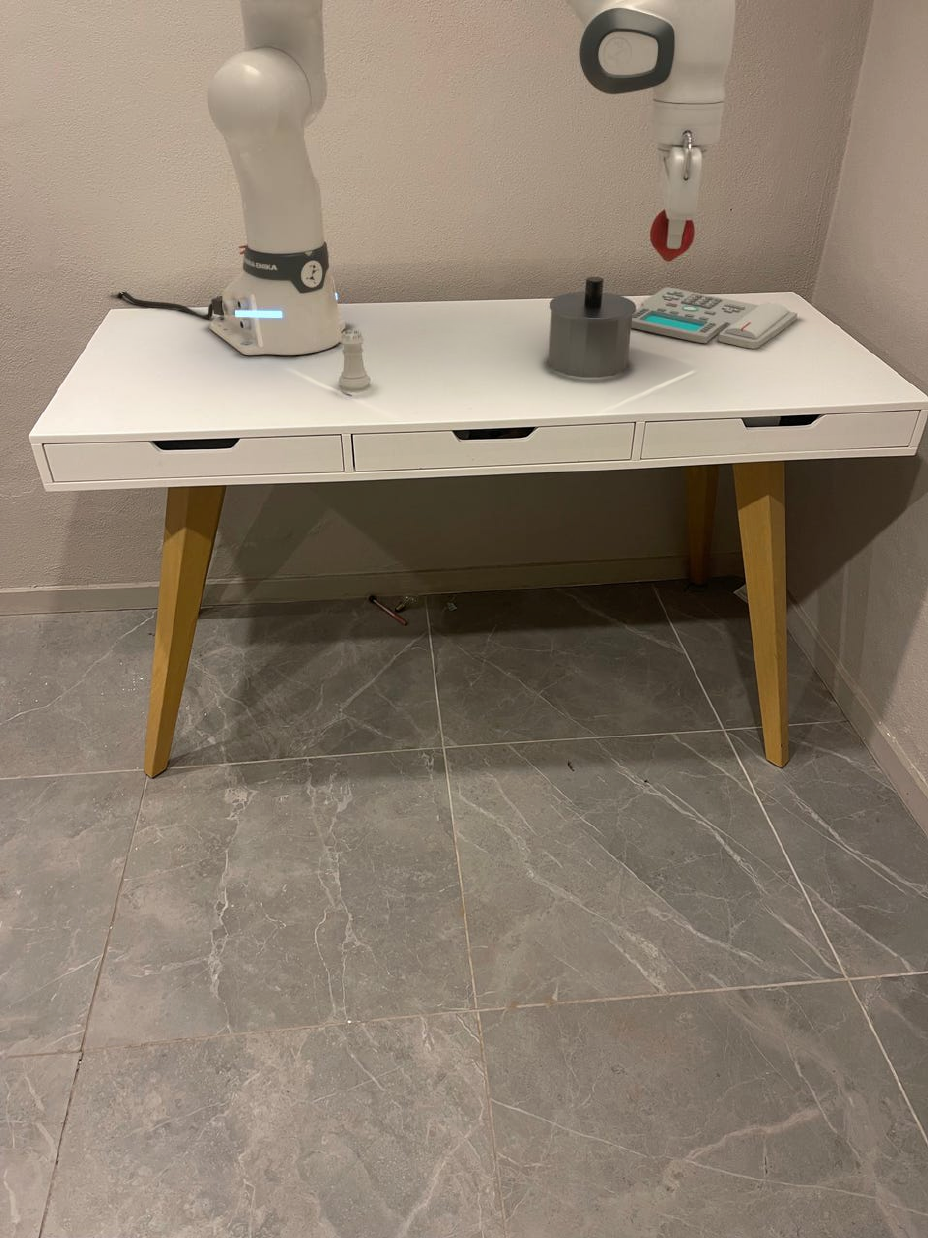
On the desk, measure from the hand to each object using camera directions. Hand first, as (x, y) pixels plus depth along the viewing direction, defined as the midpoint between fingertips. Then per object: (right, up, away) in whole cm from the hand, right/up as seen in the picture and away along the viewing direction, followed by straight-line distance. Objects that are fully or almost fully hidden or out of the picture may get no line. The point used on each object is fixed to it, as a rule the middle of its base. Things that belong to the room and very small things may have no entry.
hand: (671, 240), depth 129 cm
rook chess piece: (-43, -20, +3) cm, 47 cm away
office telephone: (+11, -3, +27) cm, 29 cm away
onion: (0, -2, +2) cm, 3 cm away
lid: (-10, -7, +6) cm, 14 cm away
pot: (-10, -14, +11) cm, 20 cm away
